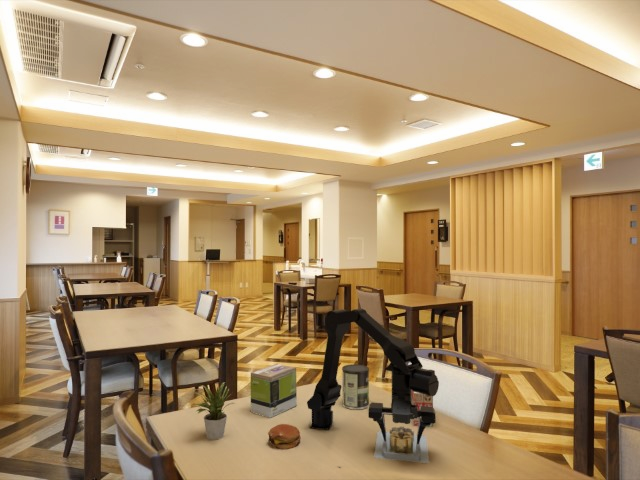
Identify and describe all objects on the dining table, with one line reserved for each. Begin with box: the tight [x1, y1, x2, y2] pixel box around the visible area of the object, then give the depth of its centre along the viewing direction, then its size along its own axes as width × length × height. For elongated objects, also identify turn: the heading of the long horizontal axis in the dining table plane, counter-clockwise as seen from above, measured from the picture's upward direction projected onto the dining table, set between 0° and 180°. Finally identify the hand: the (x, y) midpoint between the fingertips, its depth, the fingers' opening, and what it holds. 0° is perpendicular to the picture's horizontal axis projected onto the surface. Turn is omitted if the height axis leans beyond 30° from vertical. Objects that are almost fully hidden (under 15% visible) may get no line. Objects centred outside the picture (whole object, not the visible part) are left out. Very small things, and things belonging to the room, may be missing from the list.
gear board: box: [373, 430, 430, 464], centre depth 129 cm, size 15×18×3 cm
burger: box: [267, 423, 302, 450], centre depth 133 cm, size 10×9×5 cm
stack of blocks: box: [412, 390, 434, 428], centre depth 154 cm, size 21×6×12 cm, turn 171°
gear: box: [389, 426, 415, 441], centre depth 133 cm, size 7×7×3 cm
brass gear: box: [390, 430, 413, 454], centre depth 126 cm, size 7×7×5 cm
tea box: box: [250, 363, 298, 419], centre depth 161 cm, size 15×10×15 cm, turn 144°
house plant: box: [193, 381, 236, 441], centre depth 139 cm, size 14×14×16 cm
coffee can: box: [341, 364, 370, 410], centre depth 166 cm, size 10×10×14 cm
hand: (401, 442), depth 126 cm, fingers open, 9 cm apart
